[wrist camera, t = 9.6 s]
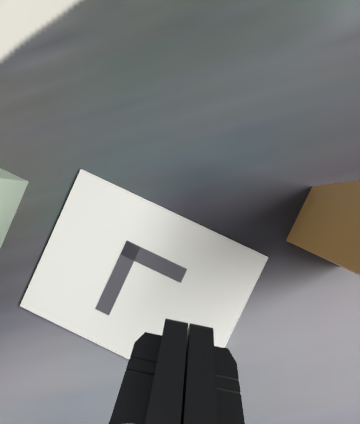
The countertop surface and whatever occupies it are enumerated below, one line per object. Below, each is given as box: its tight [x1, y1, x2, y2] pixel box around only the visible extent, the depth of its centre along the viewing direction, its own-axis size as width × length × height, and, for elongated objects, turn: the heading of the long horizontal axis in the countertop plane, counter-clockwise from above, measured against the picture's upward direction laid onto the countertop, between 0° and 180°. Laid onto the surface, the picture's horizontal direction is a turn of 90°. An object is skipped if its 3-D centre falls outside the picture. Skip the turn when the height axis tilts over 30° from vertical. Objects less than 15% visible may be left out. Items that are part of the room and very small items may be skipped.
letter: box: [20, 169, 269, 359], centre depth 25 cm, size 12×16×1 cm
